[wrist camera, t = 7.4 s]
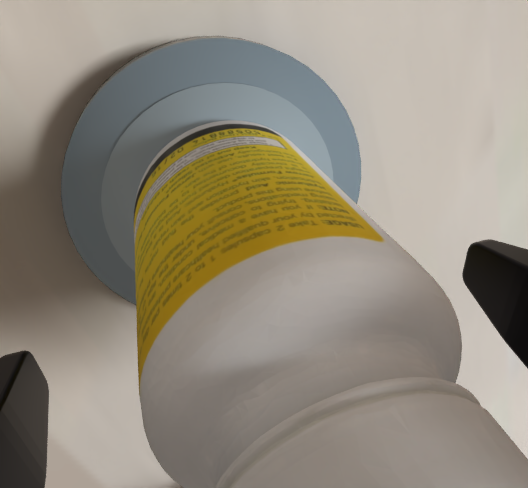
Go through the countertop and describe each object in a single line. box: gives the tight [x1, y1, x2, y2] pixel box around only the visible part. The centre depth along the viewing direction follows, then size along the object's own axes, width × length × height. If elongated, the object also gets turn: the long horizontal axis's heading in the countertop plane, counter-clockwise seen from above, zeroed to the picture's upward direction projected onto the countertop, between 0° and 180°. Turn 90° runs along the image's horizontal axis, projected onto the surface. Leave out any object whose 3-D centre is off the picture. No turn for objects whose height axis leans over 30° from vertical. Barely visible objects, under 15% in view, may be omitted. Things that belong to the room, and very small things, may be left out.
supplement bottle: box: [134, 120, 528, 488], centre depth 8 cm, size 5×5×10 cm
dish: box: [61, 36, 361, 305], centre depth 13 cm, size 9×9×1 cm
